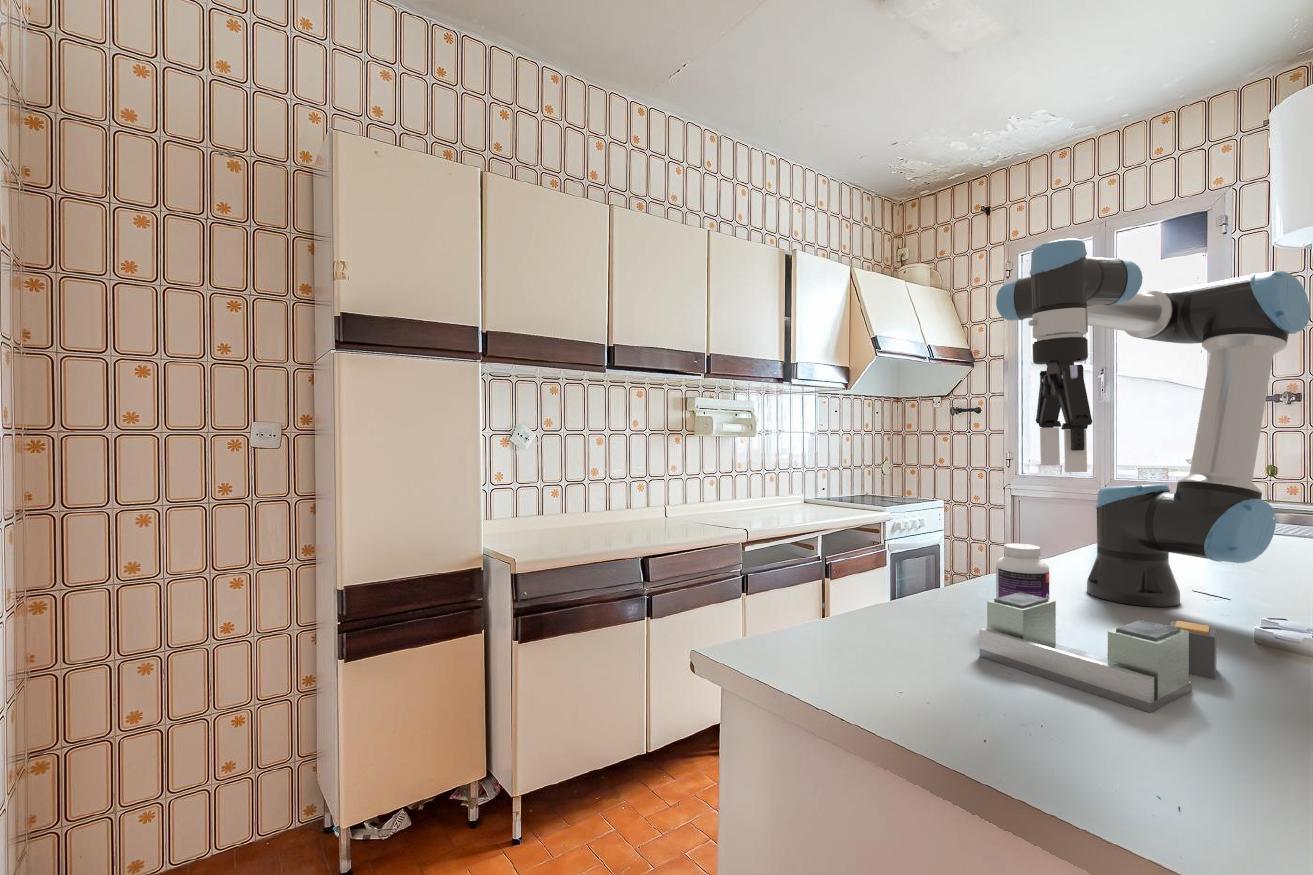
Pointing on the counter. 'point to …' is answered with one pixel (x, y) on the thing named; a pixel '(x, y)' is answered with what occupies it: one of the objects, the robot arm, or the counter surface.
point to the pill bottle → (1022, 571)
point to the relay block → (1200, 648)
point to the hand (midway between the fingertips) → (1062, 468)
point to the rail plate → (1133, 674)
